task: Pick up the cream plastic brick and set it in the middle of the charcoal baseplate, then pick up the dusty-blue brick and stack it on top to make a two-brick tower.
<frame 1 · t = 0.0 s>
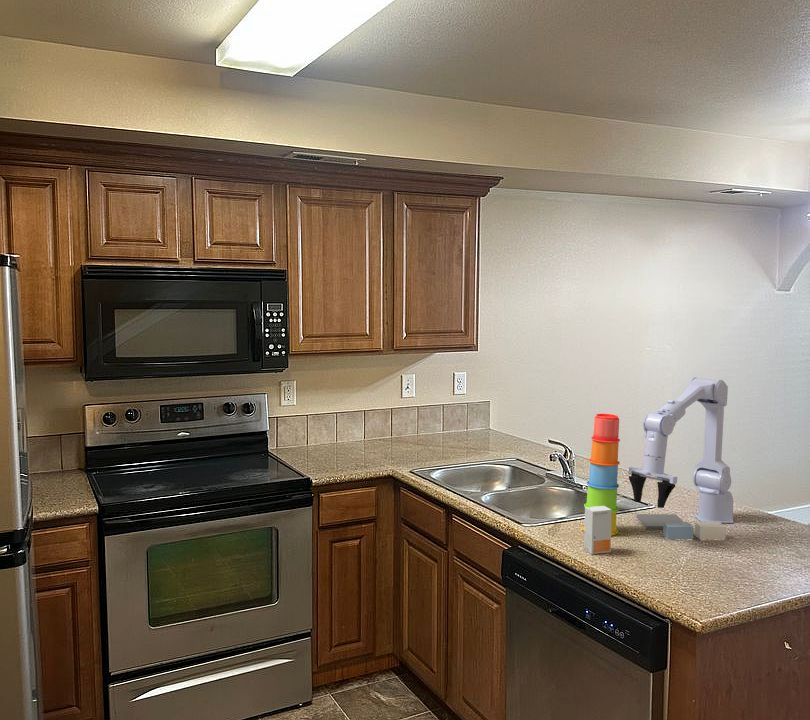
hand: (648, 504, 215), 11 cm above the counter, tool pointing down, fingers open, 7 cm apart
baseplate: (661, 523, 232), on the counter
stacking cups: (599, 532, 225), on the counter
skincare box: (597, 552, 208), on the counter
blue brick: (677, 538, 219), on the counter
cream brick: (709, 538, 218), on the counter
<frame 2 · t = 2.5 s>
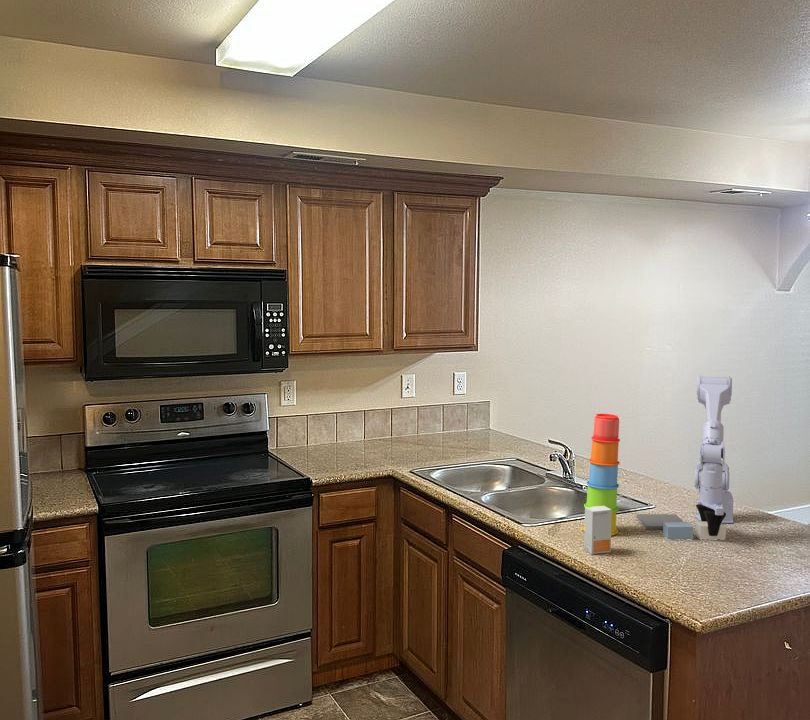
hand: (710, 532, 218), 1 cm above the counter, tool pointing down, fingers closed on cream brick, 4 cm apart
cream brick: (709, 537, 218), on the counter, touching gripper
everything else where it was.
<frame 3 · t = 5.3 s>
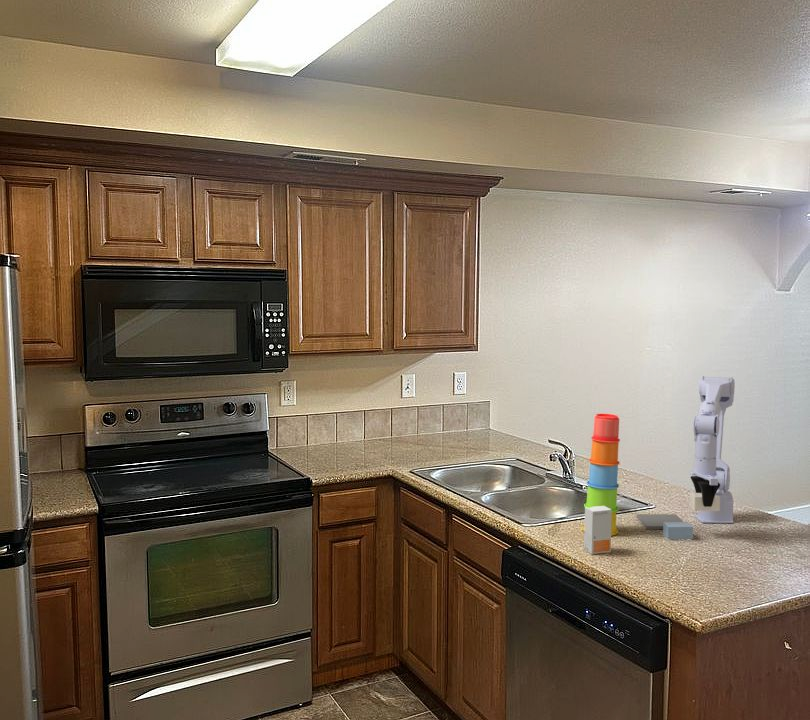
hand: (704, 503, 219), 9 cm above the counter, tool pointing down, fingers closed on cream brick, 4 cm apart
cream brick: (704, 508, 219), point 8 cm above the counter, touching gripper
everything else where it was.
when the fingers open (3 cm above the counter, at t = 8.2 s): cream brick stays where it is, resting on baseplate.
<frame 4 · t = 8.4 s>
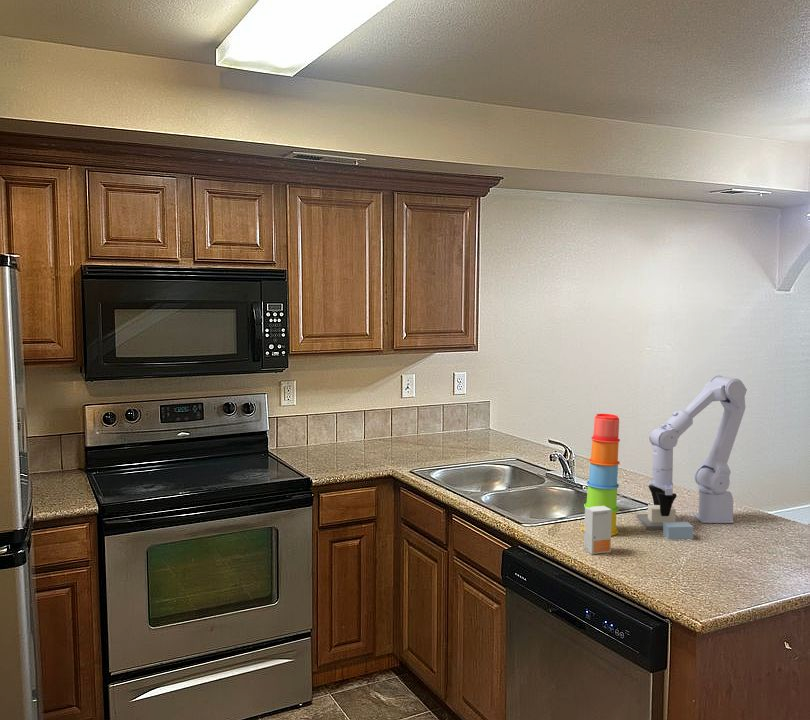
hand: (661, 512, 231), 3 cm above the counter, tool pointing down, fingers open, 6 cm apart
cream brick: (661, 520, 231), point 1 cm above the counter, touching baseplate
everything else where it was.
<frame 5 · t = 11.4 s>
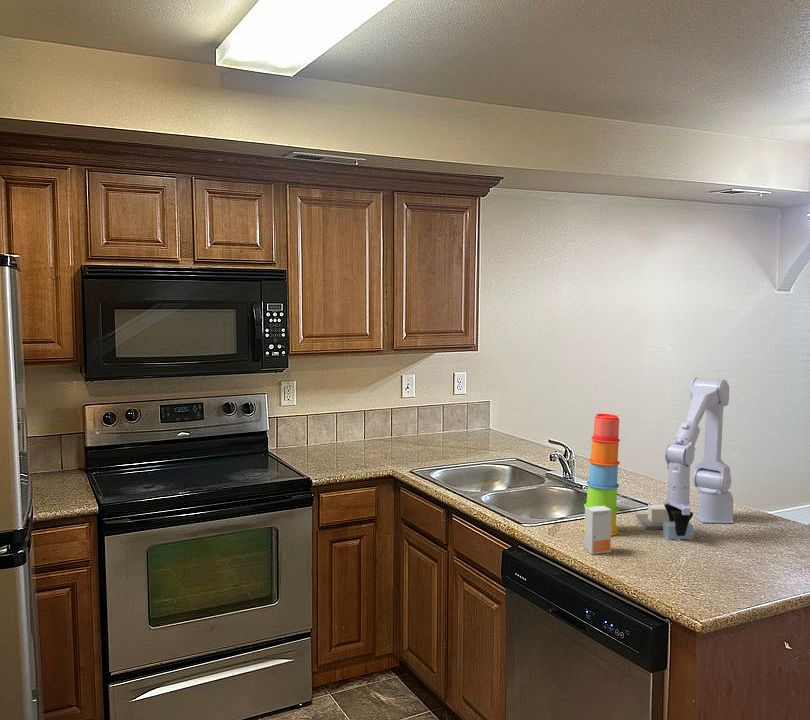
hand: (677, 532, 218), 1 cm above the counter, tool pointing down, fingers closed on blue brick, 5 cm apart
blue brick: (677, 537, 219), on the counter, touching gripper
everything else where it was.
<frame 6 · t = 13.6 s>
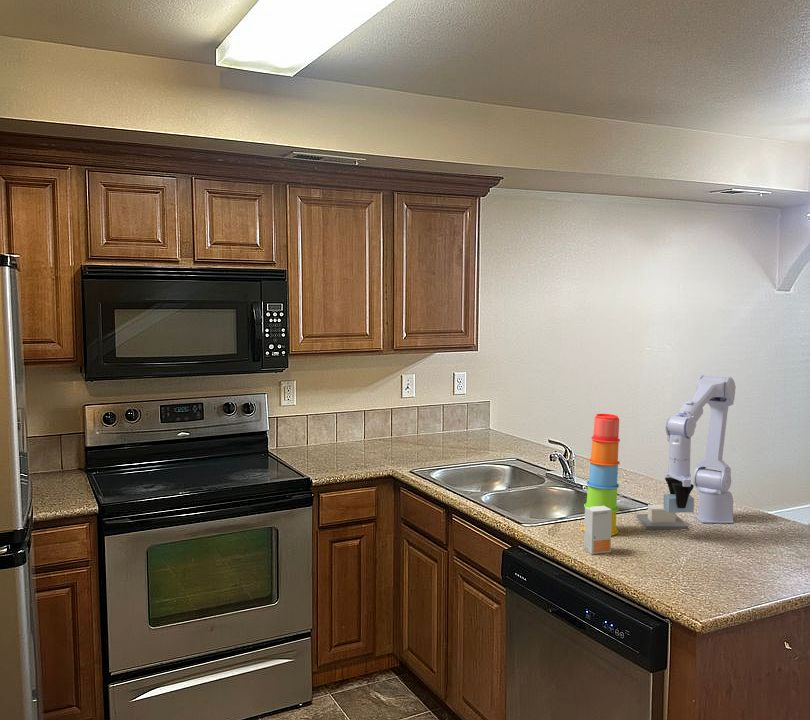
hand: (678, 505, 218), 9 cm above the counter, tool pointing down, fingers closed on blue brick, 5 cm apart
blue brick: (678, 510, 218), point 8 cm above the counter, touching gripper
everything else where it was.
when the fingers open (7 cm above the counter, at t = 16.1 s): blue brick stays where it is, resting on cream brick.
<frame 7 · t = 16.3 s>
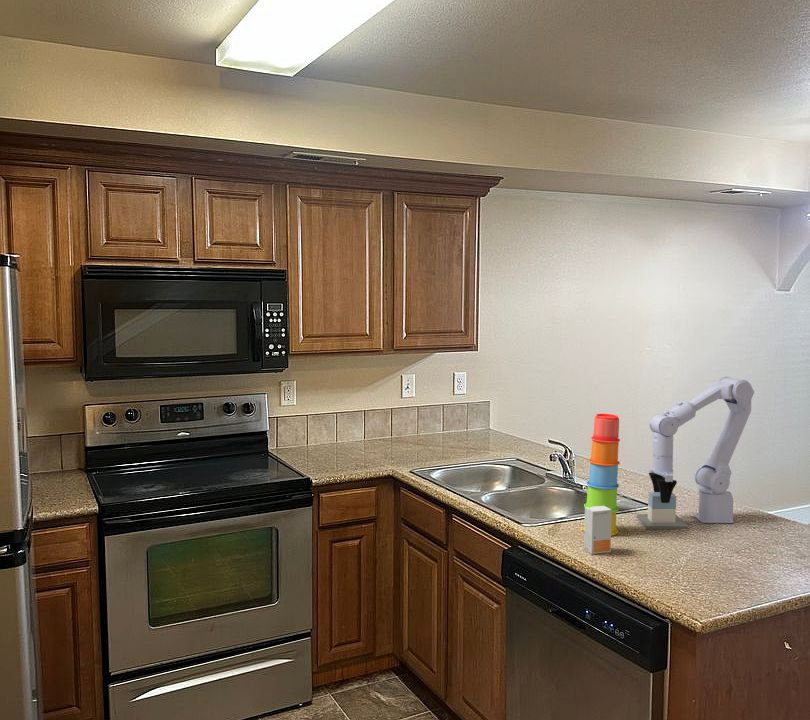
hand: (662, 499, 231), 7 cm above the counter, tool pointing down, fingers open, 6 cm apart
blue brick: (662, 507, 231), point 5 cm above the counter, touching cream brick
cream brick: (661, 520, 231), point 1 cm above the counter, touching baseplate, blue brick
everything else where it was.
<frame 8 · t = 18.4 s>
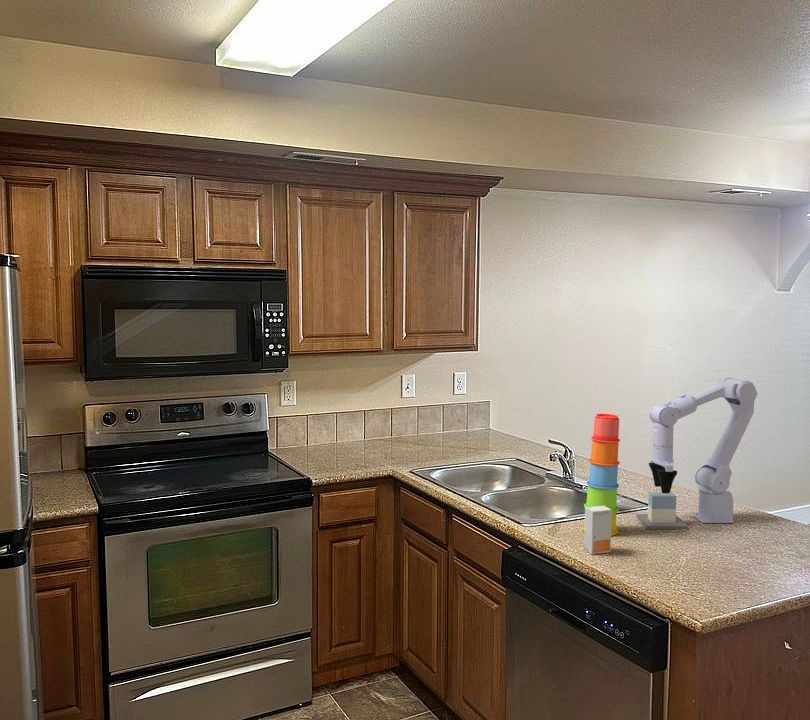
hand: (662, 489, 231), 10 cm above the counter, tool pointing down, fingers open, 7 cm apart
nothing on the counter moved.
at the end: cream brick 0.1 cm off-centre on the baseplate, point 1.0 cm above the baseplate's base; blue brick 0.1 cm off-centre on the cream brick, point 4.0 cm above the cream brick's base; blue brick tilted 0° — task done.
